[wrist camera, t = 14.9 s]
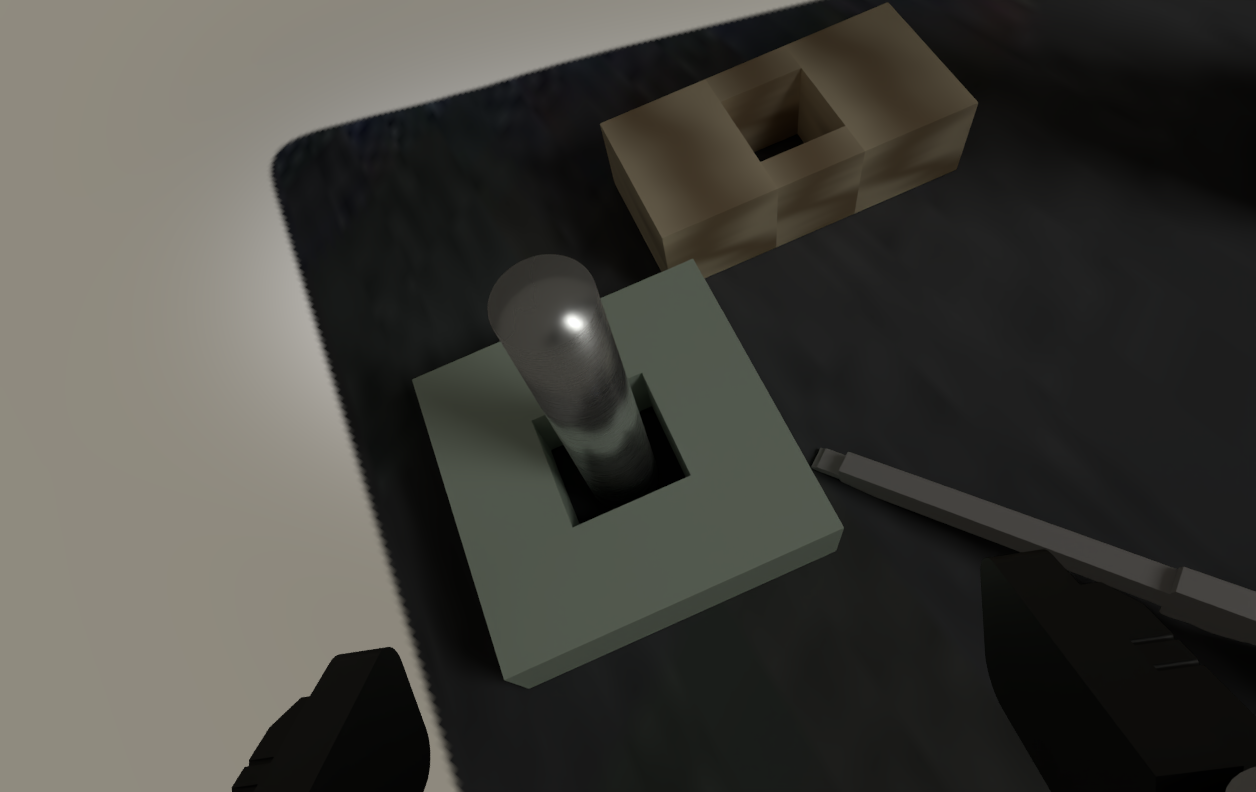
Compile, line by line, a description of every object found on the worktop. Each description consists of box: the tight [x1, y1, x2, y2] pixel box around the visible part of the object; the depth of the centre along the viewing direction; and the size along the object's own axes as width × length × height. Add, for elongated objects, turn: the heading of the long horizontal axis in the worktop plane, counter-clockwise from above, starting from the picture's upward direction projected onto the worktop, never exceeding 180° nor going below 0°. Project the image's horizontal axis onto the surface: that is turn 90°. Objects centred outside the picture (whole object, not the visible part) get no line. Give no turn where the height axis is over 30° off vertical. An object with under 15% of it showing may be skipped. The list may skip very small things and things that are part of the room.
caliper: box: [811, 448, 1256, 645], centre depth 29 cm, size 20×1×6 cm, turn 60°
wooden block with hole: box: [600, 2, 978, 278], centre depth 39 cm, size 16×8×4 cm, turn 112°
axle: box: [488, 254, 659, 509], centre depth 29 cm, size 3×3×15 cm
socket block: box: [412, 259, 844, 689], centre depth 34 cm, size 14×14×4 cm
